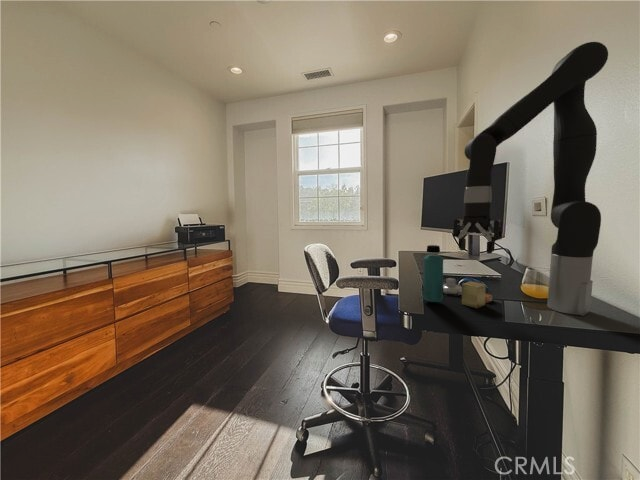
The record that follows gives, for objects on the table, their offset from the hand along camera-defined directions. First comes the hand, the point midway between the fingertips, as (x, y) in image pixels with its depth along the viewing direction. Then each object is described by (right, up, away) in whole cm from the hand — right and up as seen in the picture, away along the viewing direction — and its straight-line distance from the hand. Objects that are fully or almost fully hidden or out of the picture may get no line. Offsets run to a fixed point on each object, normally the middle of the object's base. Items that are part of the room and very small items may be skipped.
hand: (475, 251), depth 88 cm
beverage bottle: (-12, -18, +5) cm, 22 cm away
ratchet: (+2, -17, +12) cm, 20 cm away
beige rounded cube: (+1, -18, +2) cm, 18 cm away
